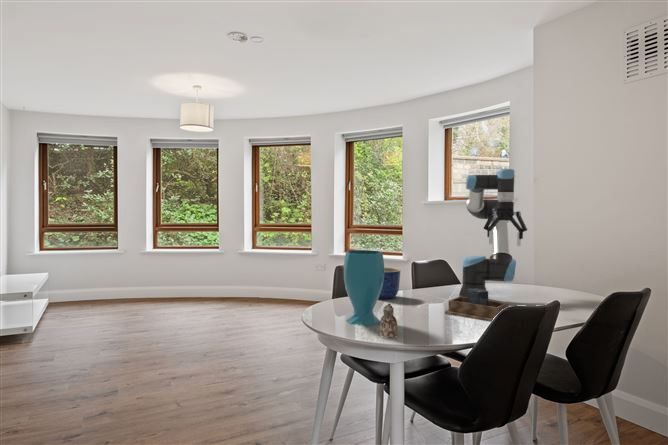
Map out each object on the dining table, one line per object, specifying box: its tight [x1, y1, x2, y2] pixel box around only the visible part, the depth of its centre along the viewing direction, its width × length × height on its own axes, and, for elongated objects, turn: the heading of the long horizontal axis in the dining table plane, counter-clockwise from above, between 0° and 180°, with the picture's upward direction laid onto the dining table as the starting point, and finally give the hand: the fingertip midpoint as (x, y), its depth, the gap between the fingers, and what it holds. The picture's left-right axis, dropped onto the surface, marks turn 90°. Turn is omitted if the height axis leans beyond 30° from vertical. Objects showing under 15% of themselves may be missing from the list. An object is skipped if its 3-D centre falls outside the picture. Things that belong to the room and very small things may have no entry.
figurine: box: [378, 303, 399, 338], centre depth 173 cm, size 7×7×12 cm
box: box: [468, 288, 489, 306], centre depth 206 cm, size 8×6×11 cm
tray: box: [444, 296, 509, 322], centre depth 207 cm, size 25×16×6 cm, turn 50°
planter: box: [378, 266, 401, 300], centre depth 244 cm, size 17×17×15 cm
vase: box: [343, 249, 385, 326], centre depth 194 cm, size 17×17×30 cm
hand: (504, 245), depth 218 cm, fingers open, 13 cm apart
